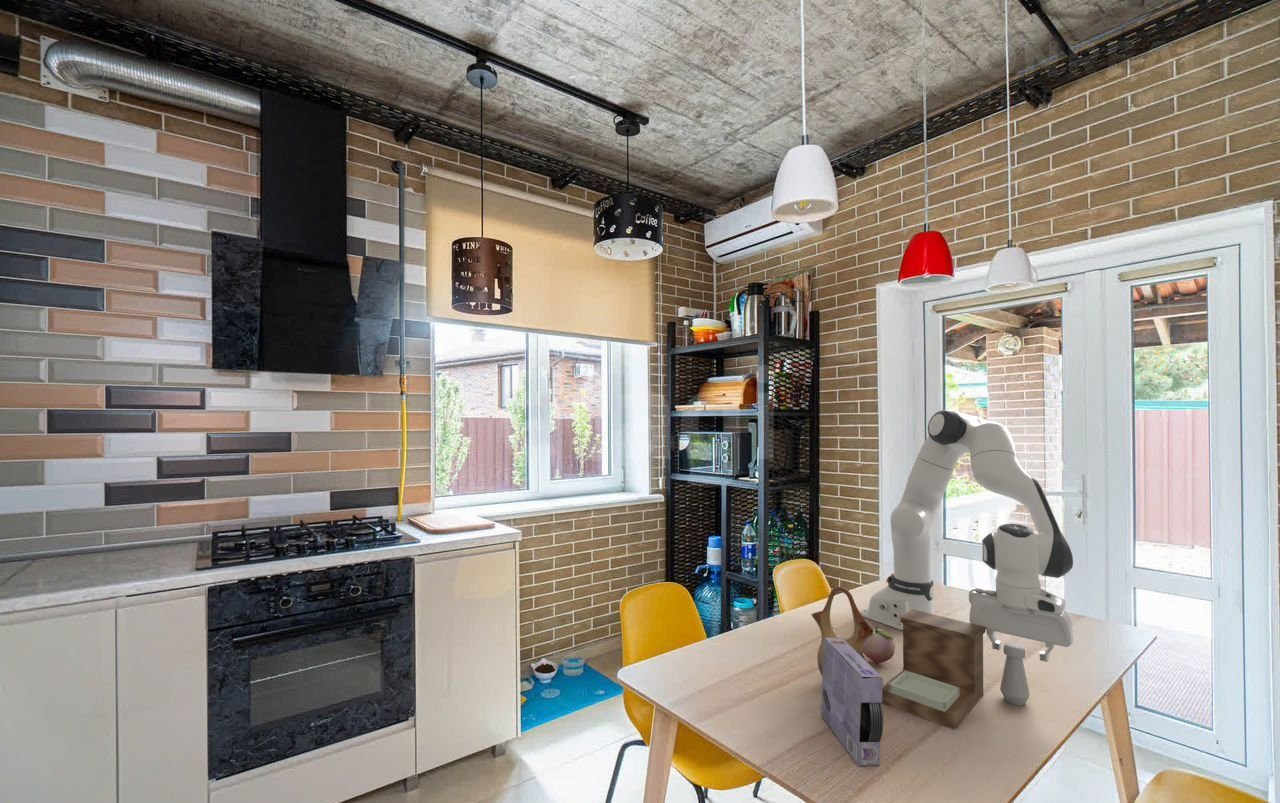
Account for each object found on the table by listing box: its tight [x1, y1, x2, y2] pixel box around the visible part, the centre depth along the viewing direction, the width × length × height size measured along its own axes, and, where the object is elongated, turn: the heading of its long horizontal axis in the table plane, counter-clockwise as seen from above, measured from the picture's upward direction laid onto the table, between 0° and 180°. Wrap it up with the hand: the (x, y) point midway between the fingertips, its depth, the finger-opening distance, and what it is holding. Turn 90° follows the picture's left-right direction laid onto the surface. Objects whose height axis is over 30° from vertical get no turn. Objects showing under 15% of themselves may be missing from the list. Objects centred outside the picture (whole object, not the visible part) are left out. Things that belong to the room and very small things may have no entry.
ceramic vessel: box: [811, 586, 875, 678], centre depth 138 cm, size 16×9×25 cm, turn 40°
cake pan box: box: [820, 638, 884, 767], centre depth 116 cm, size 19×5×18 cm, turn 5°
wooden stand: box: [881, 609, 986, 730], centre depth 134 cm, size 17×22×16 cm
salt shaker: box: [999, 642, 1031, 707], centre depth 132 cm, size 6×6×13 cm
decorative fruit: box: [862, 625, 896, 664], centre depth 152 cm, size 9×8×10 cm
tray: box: [889, 670, 960, 712], centre depth 130 cm, size 12×10×2 cm
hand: (1019, 654), depth 132 cm, fingers open, 8 cm apart
